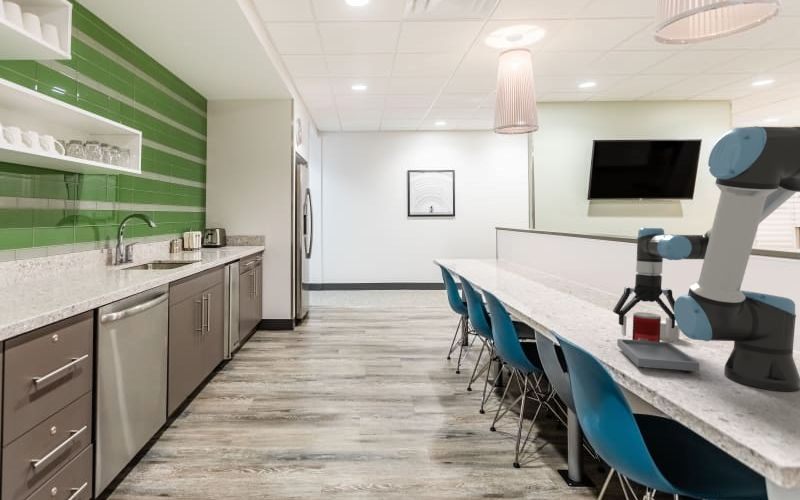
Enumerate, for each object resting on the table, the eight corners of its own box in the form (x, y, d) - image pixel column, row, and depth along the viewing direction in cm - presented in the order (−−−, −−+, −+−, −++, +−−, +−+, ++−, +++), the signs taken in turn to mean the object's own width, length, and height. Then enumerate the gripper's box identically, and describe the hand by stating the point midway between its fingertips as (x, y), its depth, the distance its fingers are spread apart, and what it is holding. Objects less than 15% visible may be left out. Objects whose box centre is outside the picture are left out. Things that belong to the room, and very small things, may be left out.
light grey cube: (657, 339, 150) (658, 322, 150) (660, 336, 155) (660, 320, 154) (677, 342, 146) (678, 325, 146) (679, 338, 151) (680, 322, 151)
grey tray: (617, 349, 136) (617, 338, 136) (668, 353, 133) (668, 342, 132) (637, 370, 116) (638, 358, 116) (698, 375, 112) (699, 362, 112)
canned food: (664, 350, 136) (666, 317, 135) (639, 349, 136) (641, 316, 135) (650, 343, 144) (652, 312, 143) (627, 343, 144) (628, 312, 143)
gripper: (685, 274, 139) (682, 335, 141) (605, 271, 145) (602, 330, 147) (696, 276, 132) (692, 342, 133) (611, 273, 138) (608, 336, 139)
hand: (645, 336), depth 140 cm, fingers open, 13 cm apart
